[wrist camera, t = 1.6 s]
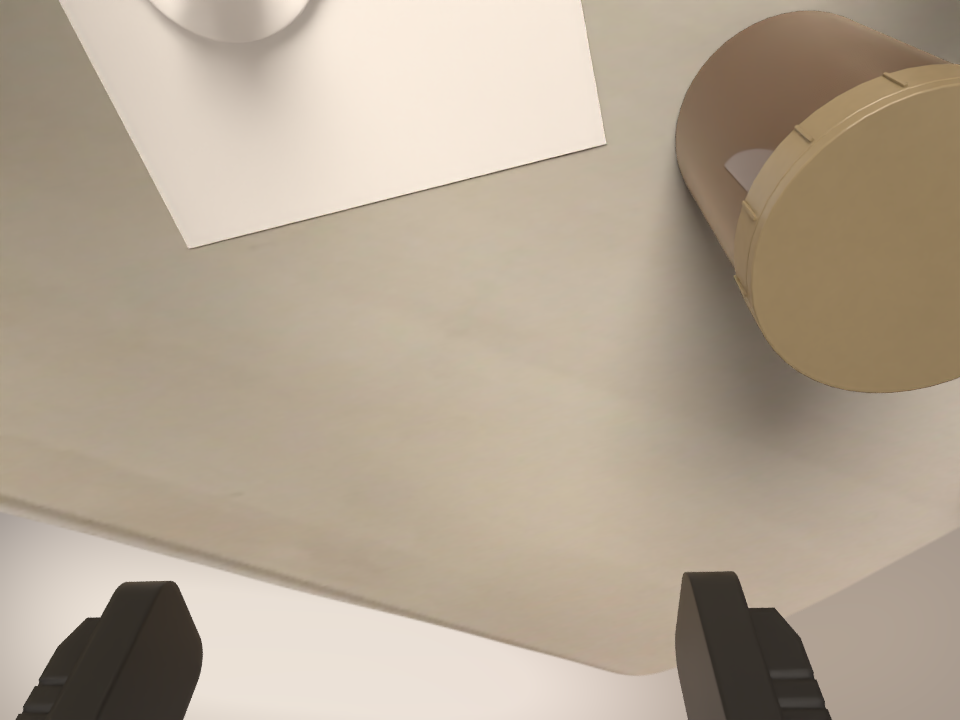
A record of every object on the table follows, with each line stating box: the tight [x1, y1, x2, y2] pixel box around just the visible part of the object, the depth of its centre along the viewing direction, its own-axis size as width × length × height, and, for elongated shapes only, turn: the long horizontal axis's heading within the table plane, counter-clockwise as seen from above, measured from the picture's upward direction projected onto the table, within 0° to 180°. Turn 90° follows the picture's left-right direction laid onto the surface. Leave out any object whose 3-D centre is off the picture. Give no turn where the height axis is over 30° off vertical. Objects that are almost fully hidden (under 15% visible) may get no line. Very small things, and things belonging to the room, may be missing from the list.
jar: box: [675, 11, 953, 269], centre depth 26 cm, size 9×9×12 cm
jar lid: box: [734, 64, 960, 393], centre depth 22 cm, size 9×9×2 cm
